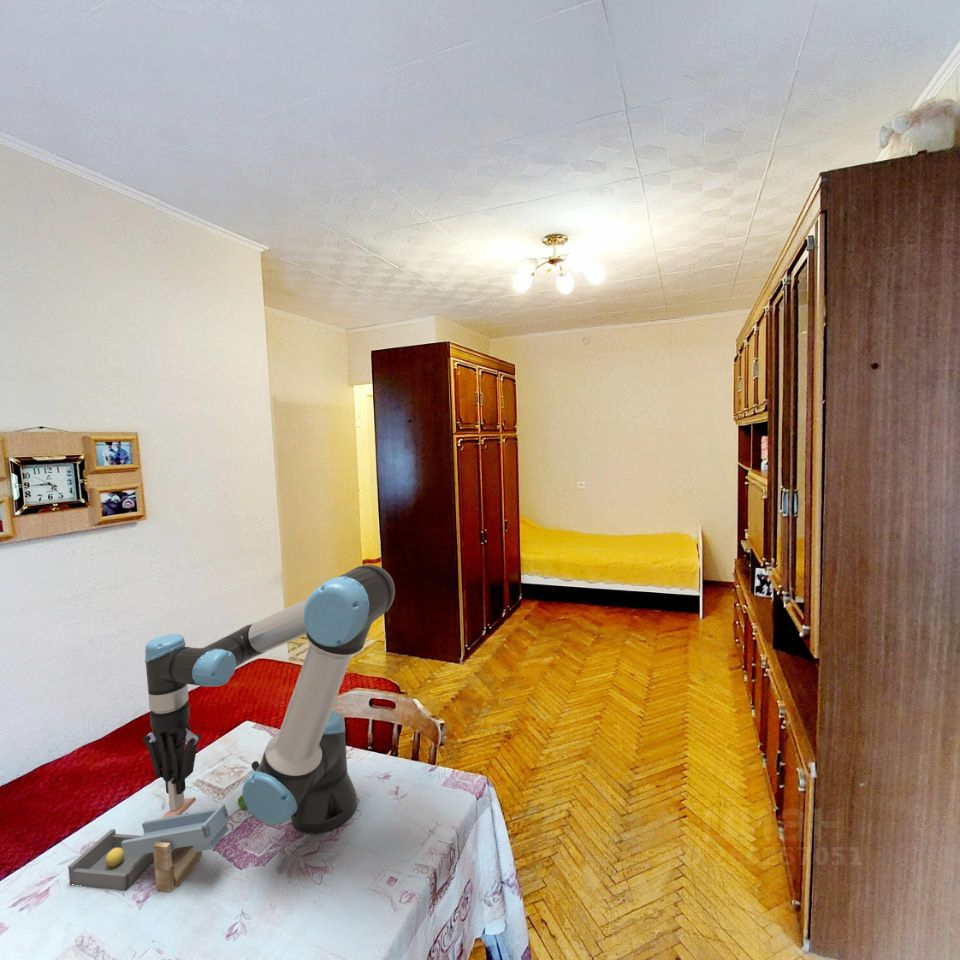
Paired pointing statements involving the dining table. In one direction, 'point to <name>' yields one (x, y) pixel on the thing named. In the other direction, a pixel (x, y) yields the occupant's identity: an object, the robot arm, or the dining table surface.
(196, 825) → the lever
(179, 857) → the fulcrum
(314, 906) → the dining table surface
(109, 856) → the ball
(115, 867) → the tray
